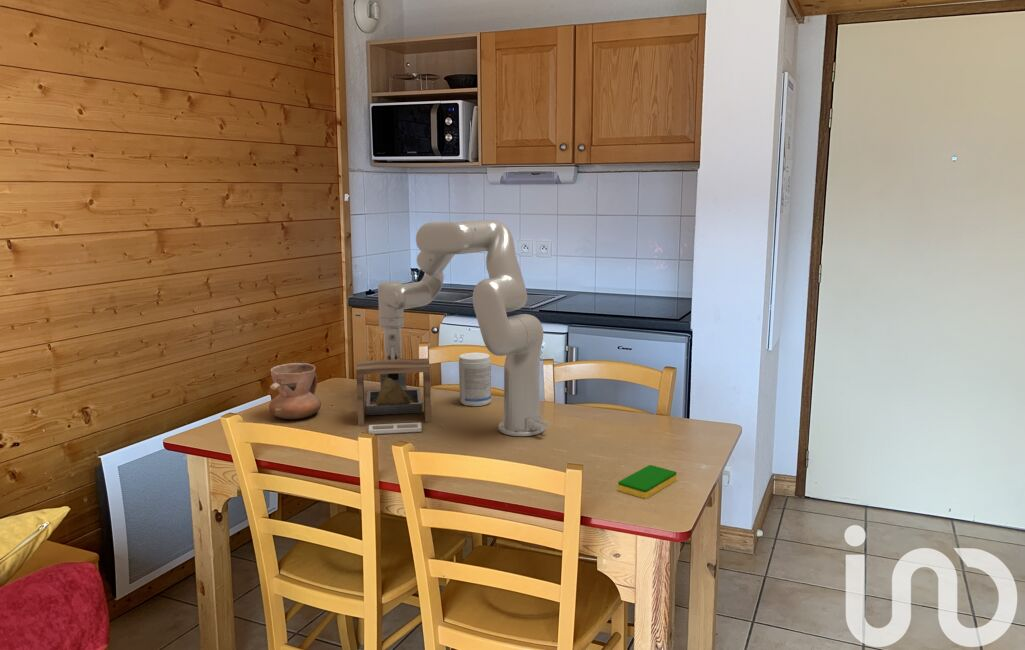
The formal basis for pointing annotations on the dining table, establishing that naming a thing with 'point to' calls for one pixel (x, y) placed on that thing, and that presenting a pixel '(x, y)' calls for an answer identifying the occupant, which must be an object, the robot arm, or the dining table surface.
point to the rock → (391, 393)
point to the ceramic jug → (294, 391)
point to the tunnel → (389, 368)
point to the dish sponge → (647, 481)
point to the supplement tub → (475, 379)
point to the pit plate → (395, 428)
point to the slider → (394, 407)
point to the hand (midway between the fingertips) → (393, 379)
